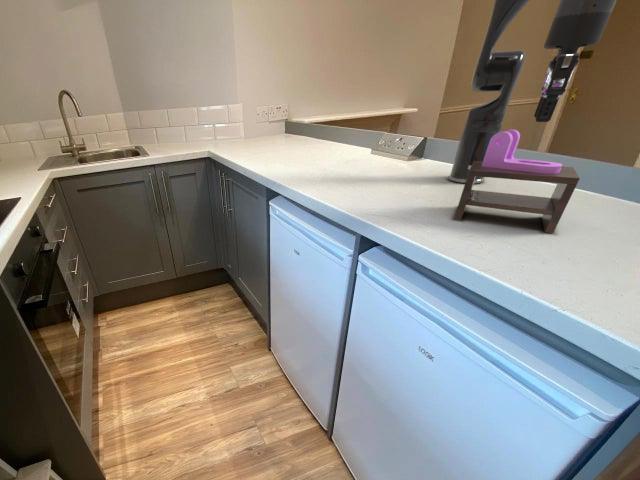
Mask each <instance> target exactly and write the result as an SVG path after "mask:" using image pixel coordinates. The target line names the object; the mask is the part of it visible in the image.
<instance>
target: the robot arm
mask: <svg viewBox="0 0 640 480" xmlns="http://www.w3.org/2000/svg"><path fill="white" fill-rule="evenodd" d="M530 1H531V0H493V5H492V8H491V12H490V17H489V20H488V24H487V28H486V31H485V33H484V37H483V41H482V44H481V46H480V51H479V54H478V57H477V59H476V63H475V67H474V69H473V74H472V77H471V84H470V89H471V91H472V92H475V93H491V92H492V93H493V92H495V93H496V92H499V93H498V95H497V96H496V97H495V98H493V99H491V100H490V101H487V102H485V103H483V104H480V105H476V106H473V107H471V108H469V110H468V112H467V115H466V119H465V122H464V125H463V129H462V132H461V137H460V140H459V144H458V147H457V150H456V154H455V157H454V161H453V163H452V166H451V167H452V168H451V171H450V174H449V177H448V180H449V181H451V182H455V183H460V184H465V182H466V179H467V176H468V173H469V170H470V168H471V166H472V164H473V162H474V161H483V160H484V157H485V154H486V151H487V148H488V145H489V142H490V139H491V138H492V137H493V136H494V135H495V134H497V133H499V132H501V129H502V125H503V123H504V120H505V117H506V114H507V111H508V109H509V104H510V102H511V99H512V96H513V93H514V91H515V88H516V86H517V84H518V81H519V78H520V76H521V73H522V71H523V68H524V65H525V61H526V52H525V50H523V49H513V50H511V49H510V50H497V51H495V47H496V46H497V44H498V42H499V40H500V38H501V37H502V35H503V34H504V33H505V31H506V30H507V29H508V27H509V26H510V25H511V23H512V22H513V21H514V19H516V18H517V16H518V15H519V14H520V13H521V11H522V10H523V9H524V8H525V7H526V6H527V5H528V3H529V2H530ZM617 1H618V0H559V3H558V6H557V8H556V11H555V14H554V16H553V20H552V22H551V25H550V27H549V31H548V34H547V37H546V39H545V42H544V44H543V49H545V50H556V49H557V50H558V53H557V55H555V56H554V57H553V59H552V60H550V61H549V63H548V65H547V68H546V72H545V76H544V79H543V81H542V85H541V86H542V87H541V91H540V98H539V101H538V104H537V106H536V108H535V112H534V113H533V114H534V115H533V117H534V118H535V122H537V123H549V121H551V119H552V117H553V114H554V112H555V110H556V107H557V104H558V103H559V99H561V97H563V95H564V93H566V88H567V87H568V86H569V84H570V82H571V80H572V76H573V74H574V72H575V70H576V69H577V66H578V64H579V61H580V59H579V58H580V52H578V50H579V49H580V48H586V47H587V48H588V47H593V46H596V45H597V44H599V42H600V40H601V39H602V36H603V34H604V31H605V29H606V26H607V25H608V22H609V20H610V17H611V15H612V12H613V10H614V8H615V5H616V3H617ZM484 180H485V177H479V176H476V178H475V181H474V184H482V183H483V182H484Z"/></svg>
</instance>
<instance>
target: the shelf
mask: <svg viewBox="0 0 640 480" xmlns="http://www.w3.org/2000/svg"><path fill="white" fill-rule="evenodd" d="M482 163H483V161H474V162H473V164H472V166H471V168H470V170H469V173H468V176H467V179H466V182H465V183H464V185H463V189H462V192H461V195H460V199H459V201H458V205H457V208H456V210H455V214H454V217H453V220H455V221H461V220H462V218H463V216H464V213H465V211H466V208H467V206H471V207H480V208H487V209H494V210H505V211H512V212H521V213H529V214H535V215H536V214H537V215H542V216H541V219H542V226H543V232H544V233H545V234H554V232H555V230H556V229H557V226H558V224H559V222H560V220H561V218H562V216H563V214H564V212H565V210H566V208H567V206H568V204H569V202H570V199H571V197H572V196H573V193H574V192H575V189H576V187H577V185H578V183H579V181H580V176H579V175H578V173H577V171H576V169H575V168H574V167H573V166H562V168H561V170H560V172H559V173H557V174H541V173H532V172H524V171H515V170H507V169H499V168H491V167H482ZM476 176H479V177H484V178H494V179H504V180H514V181H516V180H517V181H528V182H538V183H551V184H556V186H555V188H554V190H553V192H552V194H551V197H546V196H536V195H526V194H516V193H508V192H507V193H506V192H496V191H487V190H479V189H478V190H476V189H473V187H474V185H475V183H474V181H475V178H476Z"/></svg>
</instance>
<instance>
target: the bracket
mask: <svg viewBox="0 0 640 480" xmlns="http://www.w3.org/2000/svg"><path fill="white" fill-rule="evenodd" d="M520 140H521V133H520V132H519V131H518V130H516V129H513V128H512V129H507V130H504V131H500V132H499V133H497V134H495V135H494V136H493V137H492V138H491V139H490V142H489V145H488V148H487V151H486V154H485V157H484V160H483V163H482V167H491V168H499V169H507V170H515V171H524V172H532V173H541V174H557V173H559V172H560V170H561V168H562V167H564V166H563V165H564V164H563V163H559V162H555V161H548V160H547V161H546V160H538V159H536V160H535V159H528V158H525V159H524V158H516V157H515V156H514V155H515V153H516V150H517V148H518V145H519V143H520Z"/></svg>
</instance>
